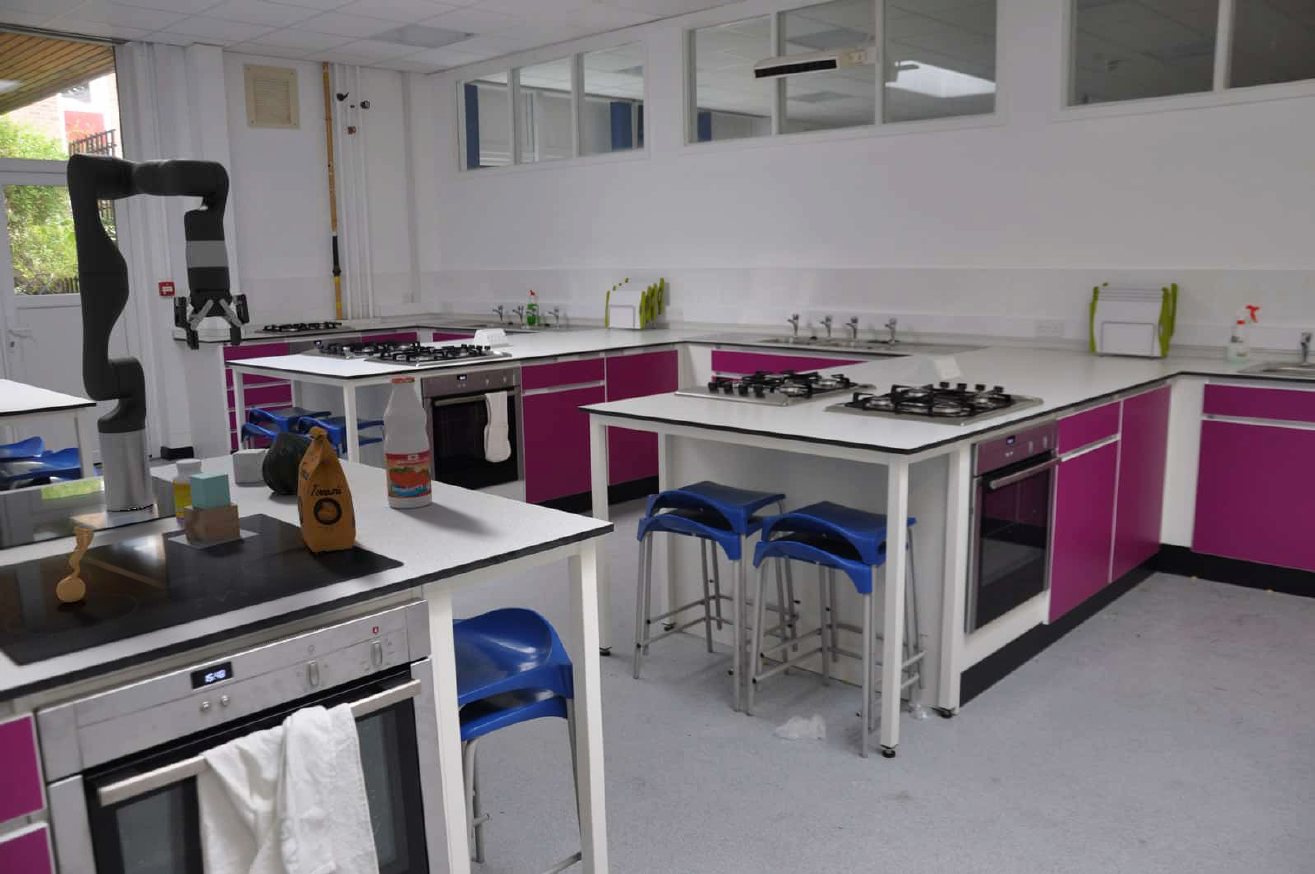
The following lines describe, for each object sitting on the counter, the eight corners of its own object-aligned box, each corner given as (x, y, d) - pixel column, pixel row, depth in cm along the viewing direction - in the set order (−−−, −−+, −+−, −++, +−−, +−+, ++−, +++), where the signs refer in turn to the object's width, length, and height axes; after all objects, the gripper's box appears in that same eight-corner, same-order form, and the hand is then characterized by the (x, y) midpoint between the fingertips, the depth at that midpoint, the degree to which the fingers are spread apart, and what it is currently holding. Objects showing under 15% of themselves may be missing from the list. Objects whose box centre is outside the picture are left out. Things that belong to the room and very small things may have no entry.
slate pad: (167, 543, 193) (166, 538, 192) (226, 530, 202) (225, 525, 202) (200, 553, 186) (199, 548, 185) (259, 539, 195) (259, 534, 195)
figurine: (57, 596, 163) (48, 524, 161) (100, 590, 166) (92, 519, 164) (58, 611, 156) (48, 536, 153) (102, 604, 159) (93, 530, 156)
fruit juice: (428, 497, 227) (420, 373, 223) (436, 506, 219) (428, 377, 214) (385, 502, 224) (377, 376, 219) (391, 511, 215) (383, 380, 210)
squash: (350, 466, 236) (316, 416, 239) (297, 481, 224) (262, 428, 227) (324, 500, 244) (292, 451, 247) (271, 516, 231) (238, 464, 234)
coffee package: (302, 557, 183) (292, 437, 179) (300, 539, 194) (291, 426, 190) (359, 550, 186) (350, 432, 182) (354, 534, 197) (346, 423, 194)
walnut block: (186, 537, 193) (182, 507, 192) (220, 529, 198) (217, 500, 197) (205, 543, 189) (202, 512, 188) (240, 535, 194) (237, 504, 193)
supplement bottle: (198, 526, 205) (192, 464, 203) (169, 525, 207) (163, 463, 204) (218, 518, 212) (212, 458, 210) (190, 517, 213) (184, 457, 211)
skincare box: (258, 482, 246) (256, 453, 245) (234, 483, 247) (231, 453, 245) (268, 477, 252) (266, 448, 251) (244, 477, 252) (241, 448, 251)
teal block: (192, 506, 192) (188, 475, 191) (216, 501, 196) (213, 471, 195) (206, 510, 189) (202, 478, 188) (230, 504, 193) (228, 474, 192)
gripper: (231, 264, 205) (238, 344, 208) (161, 265, 194) (170, 350, 197) (251, 264, 201) (258, 345, 203) (182, 265, 189) (190, 351, 192)
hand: (215, 347), depth 200 cm, fingers open, 8 cm apart
